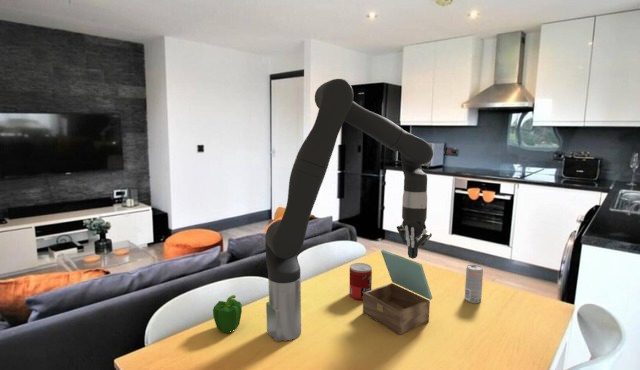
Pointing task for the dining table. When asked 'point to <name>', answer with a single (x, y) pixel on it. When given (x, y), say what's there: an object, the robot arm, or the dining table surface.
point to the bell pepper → (227, 314)
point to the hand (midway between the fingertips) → (412, 257)
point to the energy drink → (473, 283)
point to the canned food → (360, 280)
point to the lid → (407, 274)
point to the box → (396, 308)
